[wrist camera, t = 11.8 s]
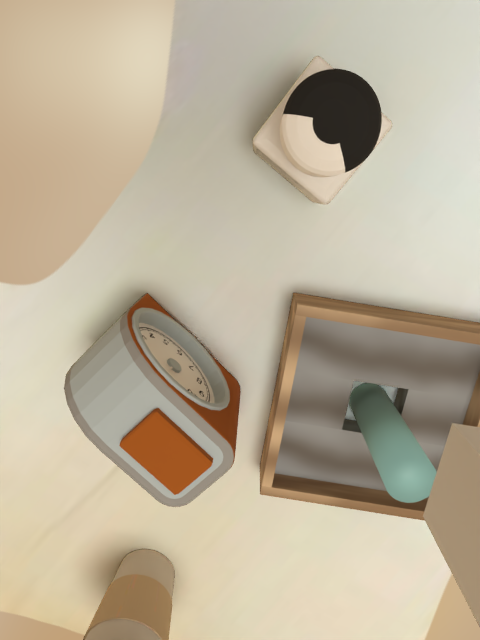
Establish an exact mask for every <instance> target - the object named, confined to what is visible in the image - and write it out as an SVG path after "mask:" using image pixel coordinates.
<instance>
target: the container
mask: <svg viewBox="0 0 480 640" xmlns="http://www.w3.org/2000/svg"><path fill="white" fill-rule="evenodd" d="M391 127H392V122H391V120H389V119H388V118H387V117H386V116H385V115H384V114H383V113H382V112H381V107H380V104H379V100H378V98H377V96H376V94H375V92H374V91H373V89H372V87H371V86H370V85H369V84H368V83H367V82H366V81H365V80H364V79H363V78H361V77H360V76H358V75H357V74H355V73H352V72H350V71H346V70H342V69H334V68H332V67H331V66H330V65H329V64H328V63H327V62H326V61H325V60H324V59H323V58H322V57H320V56H316V57H314V58H313V59H312V61H311V62H310V63H309V65H308V66H307V67H306V69H305V70H304V71H303V73H302V74H301V75H300V77H299V78H298V79H297V81H296V82H295V83H294V85H293V86H292V87H291V89H290V90H289V91H288V93H287V94H286V95H285V97H284V98H283V99H282V101H281V102H280V103H279V105H278V106H277V107H276V109H275V110H274V111H273V113H272V114H271V115H270V116H269V118H268V119H267V120H266V122H265V123H264V124H263V126H262V127H261V128H260V130H259V131H258V132H257V134H256V135H255V136H254V138H253V150H254V152H255V153H256V154H257V155H258V156H259V157H260V158H262V159H263V160H264V161H265V162H266V163H267V164H269V165H270V166H271V167H272V168H273V169H274V170H276V171H277V172H278V173H279V174H280V175H282V176H283V177H284V178H285V179H286V180H287V181H289V182H290V183H291V184H292V185H293V186H294V187H296V188H297V189H298V190H299V191H300V192H301V193H303V194H304V195H305V196H306V197H307V198H308V199H310V200H311V201H312V202H314V203H320V204H328V203H329V202H330V201H331V200H332V199H333V198H334V196H335V195H336V194H337V193H338V192H339V190H340V189H341V188H342V187H343V186H344V184H345V183H346V182H347V181H348V180H349V178H350V177H351V176H352V175H353V174H354V172H355V171H356V170H357V169H358V168H359V166H360V165H361V164H362V163H363V162H364V160H365V159H366V158H367V157H368V156H369V155H370V153H371V152H372V151H373V150H374V148H375V147H376V146H377V145H378V144H379V142H380V141H381V140H382V139H383V138H384V136H385V135H386V134H387V133H388V131H389V130H390V129H391Z"/></svg>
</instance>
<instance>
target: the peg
mask: <svg viewBox="0 0 480 640" xmlns="http://www.w3.org/2000/svg"><path fill="white" fill-rule="evenodd" d="M349 403H350V407H351V409H352V412H353V414H354V416H355V419H356V421H357V423H358V425H359V428H360V430H361V432H362V435H363V437H364V439H365V442H366V444H367V446H368V448H369V451H370V453H371V455H372V458H373V460H374V462H375V465H376V467H377V469H378V471H379V474H380V476H381V478H382V481H383V483H384V485H385V488H386V490H387V492H388V493H389V494H390V496H392V497H393V498H394V499H396V500H398V501H401V502H405V503H414V502H418V501H421V500H423V499H425V498H427V497H428V496H429V495H430V492H431V489H432V486H433V482H434V479H435V476H436V473H437V472H436V469H435V468H434V466H433V465H432V463H431V462H430V460H429V458H428V457H427V455H426V454H425V452H424V451H423V449H422V448H421V446H420V444H419V443H418V441H417V440H416V438H415V437H414V435H413V434H412V432H411V430H410V429H409V427H408V426H407V424H406V423H405V421H404V420H403V418H402V417H401V415H400V413H399V412H398V410H397V409H396V407H395V406H394V404H393V403H392V401H391V399H390V398H389V396H388V395H387V393H386V392H385V390H384V389H383V388H382V387H381V386H379V385H377V384H373V383H366V384H362V385H360V386H358V387H357V388H355V389H354V391H353V392H352V393H351V396H350V400H349Z"/></svg>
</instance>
